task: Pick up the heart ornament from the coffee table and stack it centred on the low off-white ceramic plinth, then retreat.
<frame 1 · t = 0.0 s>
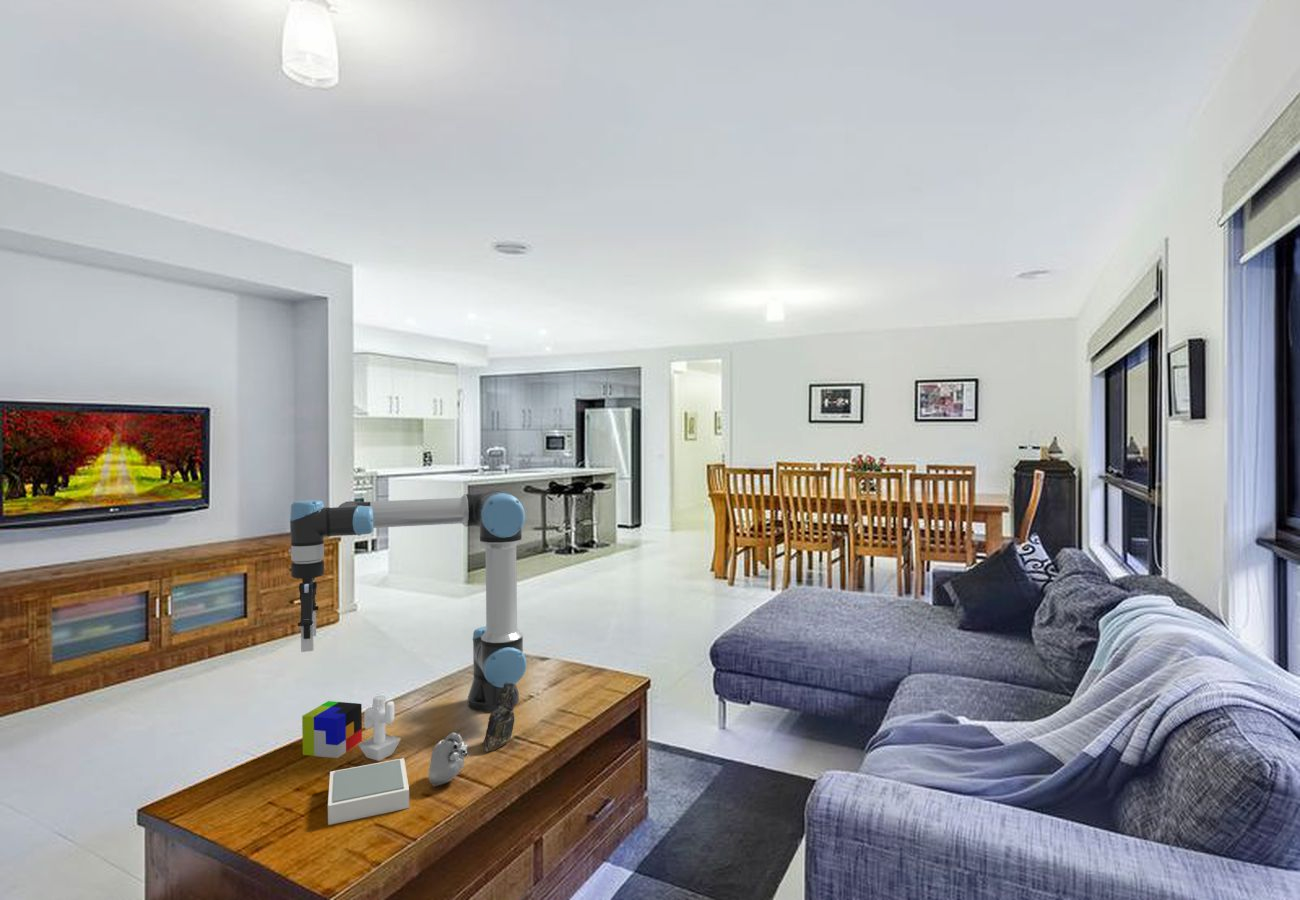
hand: (309, 643, 175), 28 cm above the table, fingers open, 13 cm apart
heart: (445, 781, 160), on the table
puzzle toy: (333, 748, 177), on the table
plinth: (368, 798, 152), on the table
figurine: (379, 756, 173), on the table
statue: (499, 744, 179), on the table
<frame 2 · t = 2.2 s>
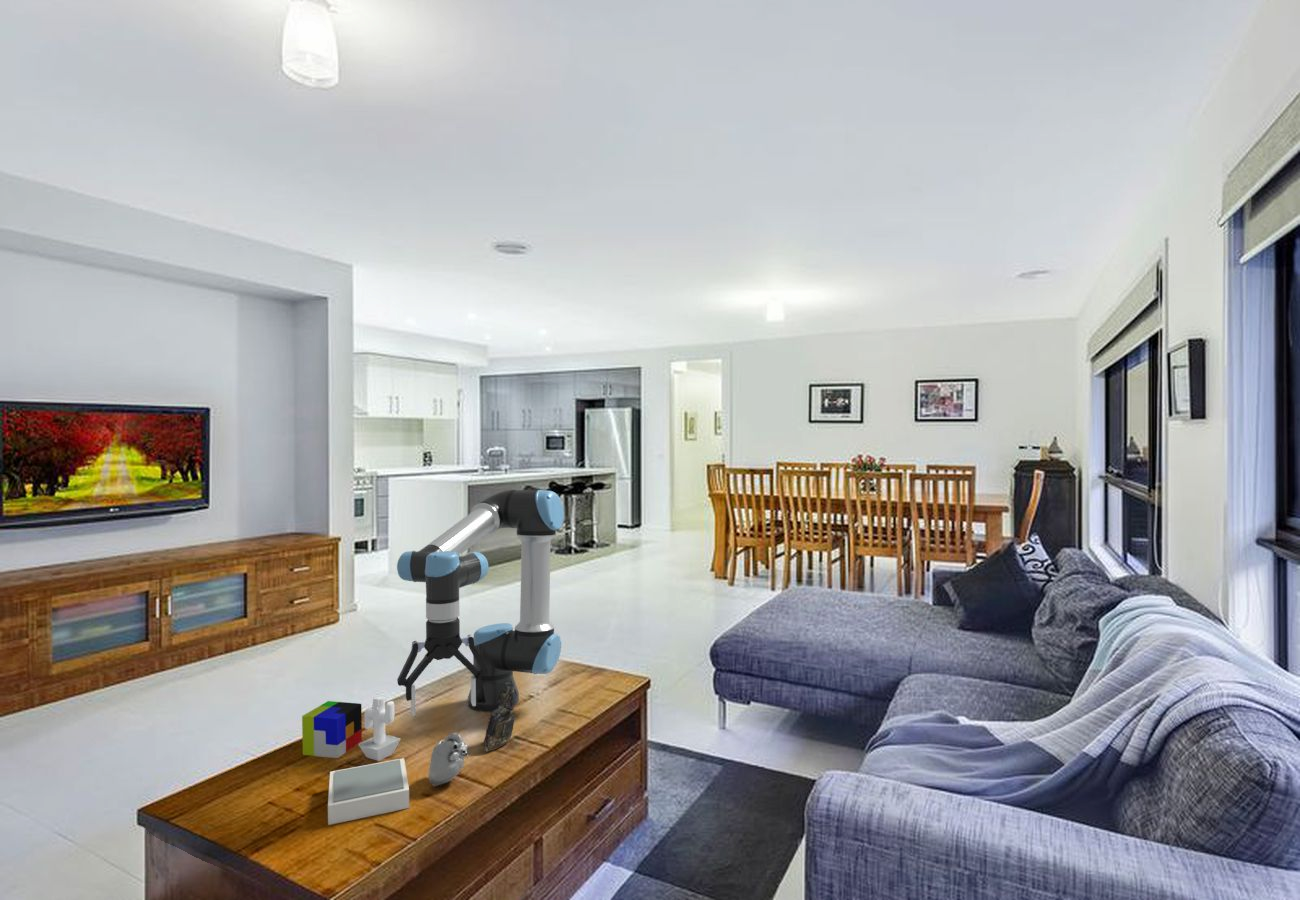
hand: (443, 708, 160), 17 cm above the table, fingers open, 13 cm apart
nothing on the table moved.
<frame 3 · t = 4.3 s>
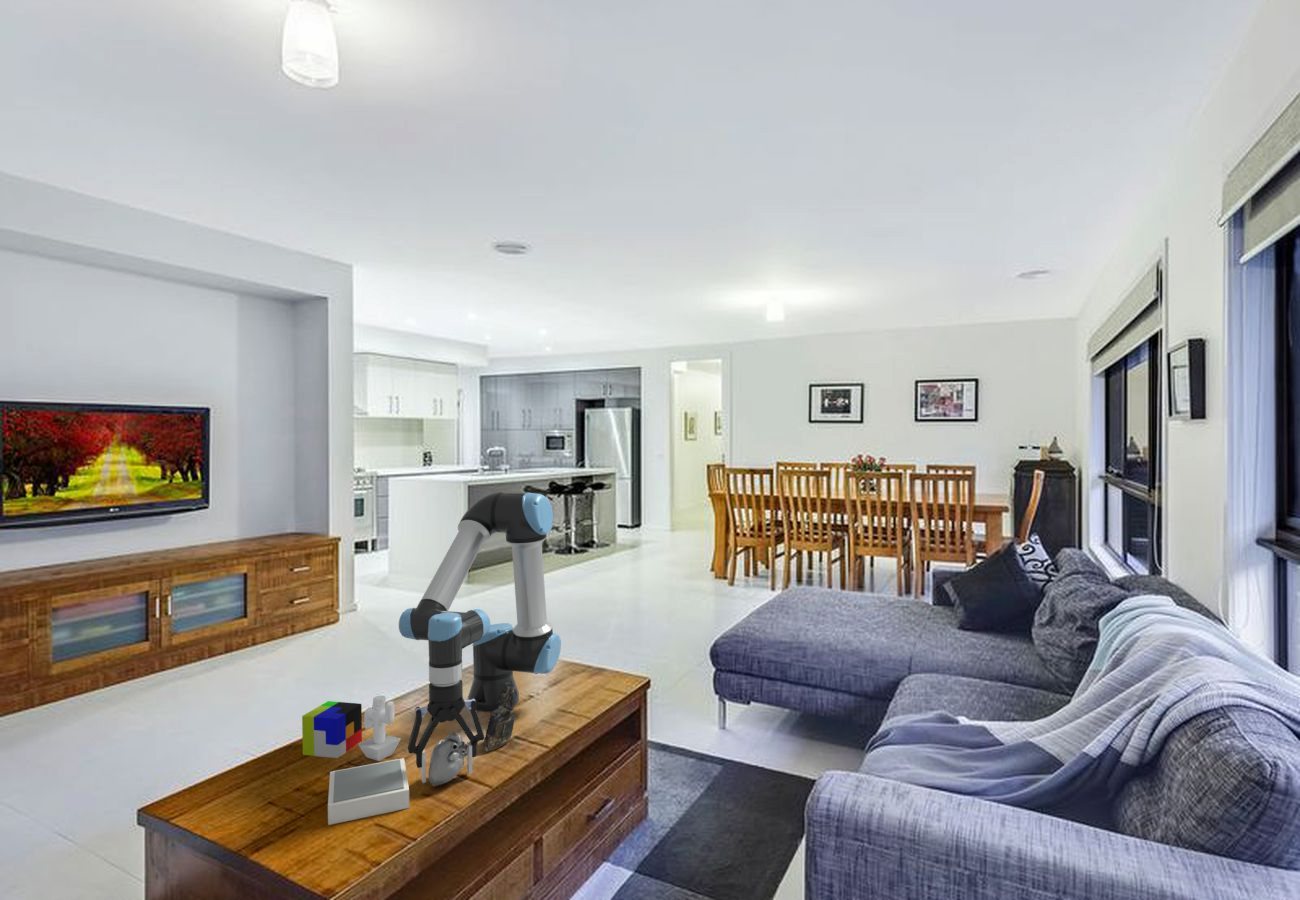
hand: (447, 775, 160), 1 cm above the table, fingers open, 10 cm apart
heart: (445, 781, 160), on the table, touching gripper
everything else where it was.
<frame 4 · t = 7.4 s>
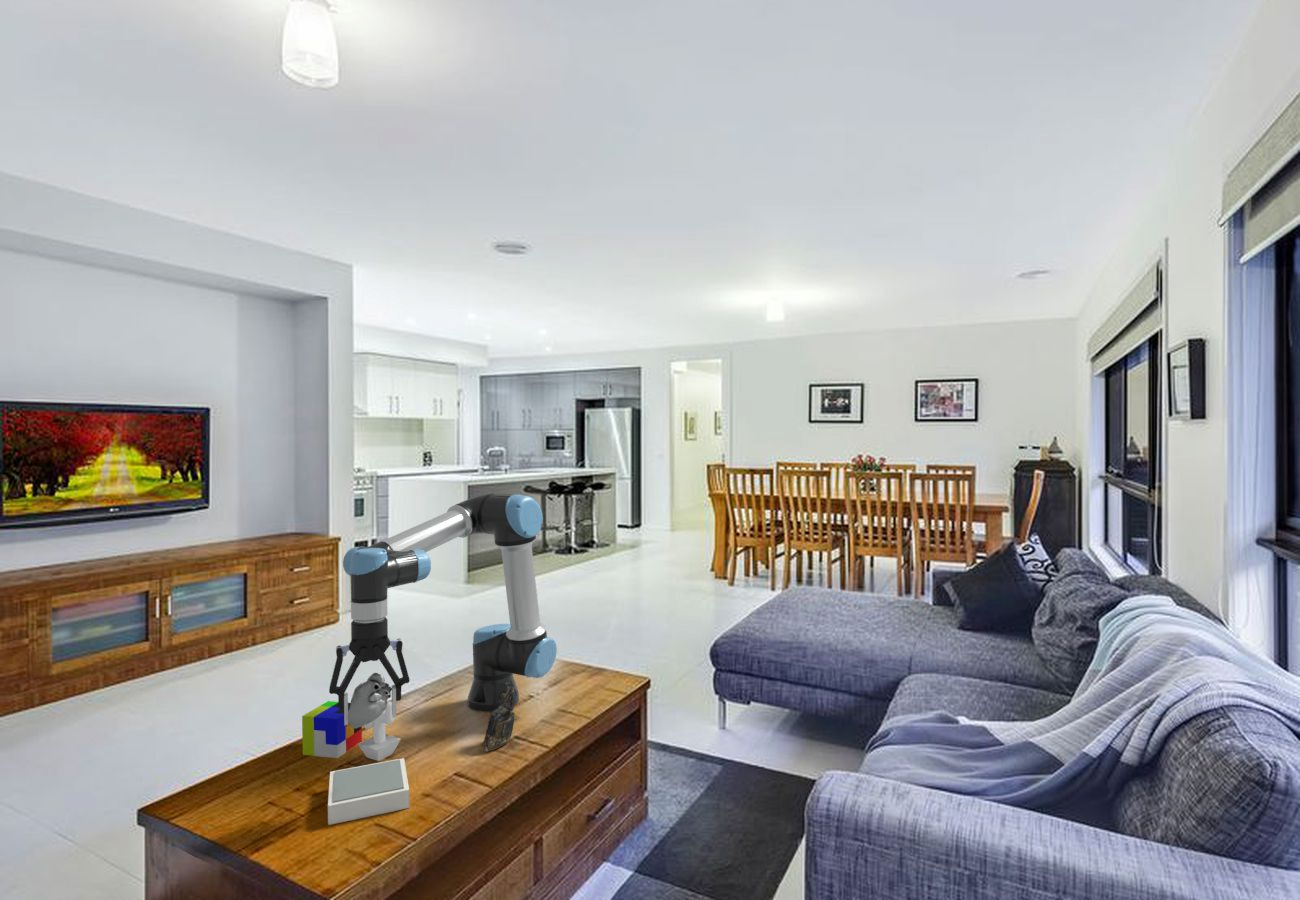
hand: (370, 718, 152), 18 cm above the table, fingers closed on heart, 9 cm apart
heart: (366, 725, 152), point 17 cm above the table, touching gripper
everything else where it was.
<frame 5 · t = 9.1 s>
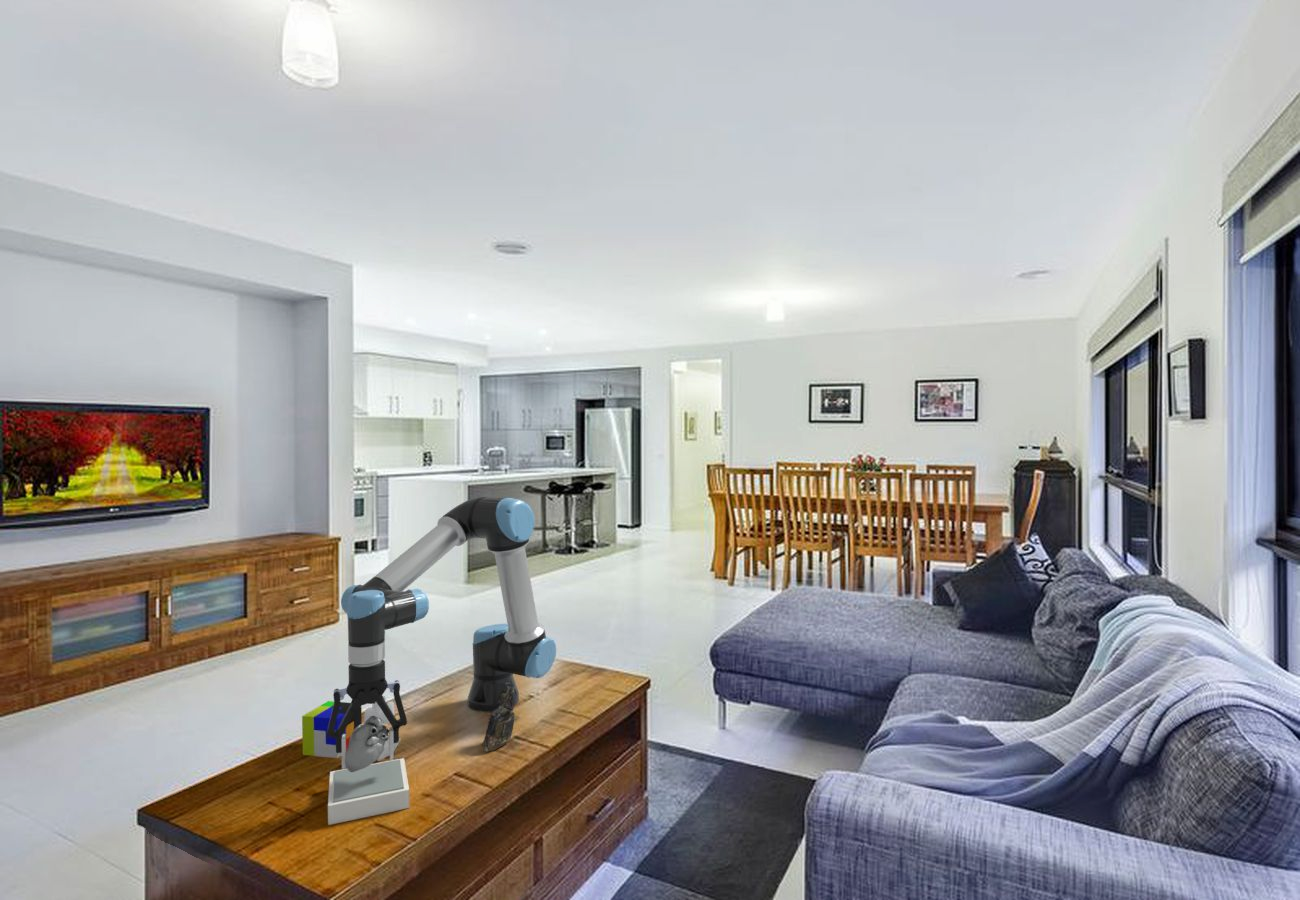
hand: (368, 761, 152), 8 cm above the table, fingers closed on heart, 9 cm apart
heart: (364, 767, 152), point 7 cm above the table, touching gripper
everything else where it was.
when the fingers open (6 cm above the table, at t = 10.4 s): heart drops 1 cm, resting on plinth.
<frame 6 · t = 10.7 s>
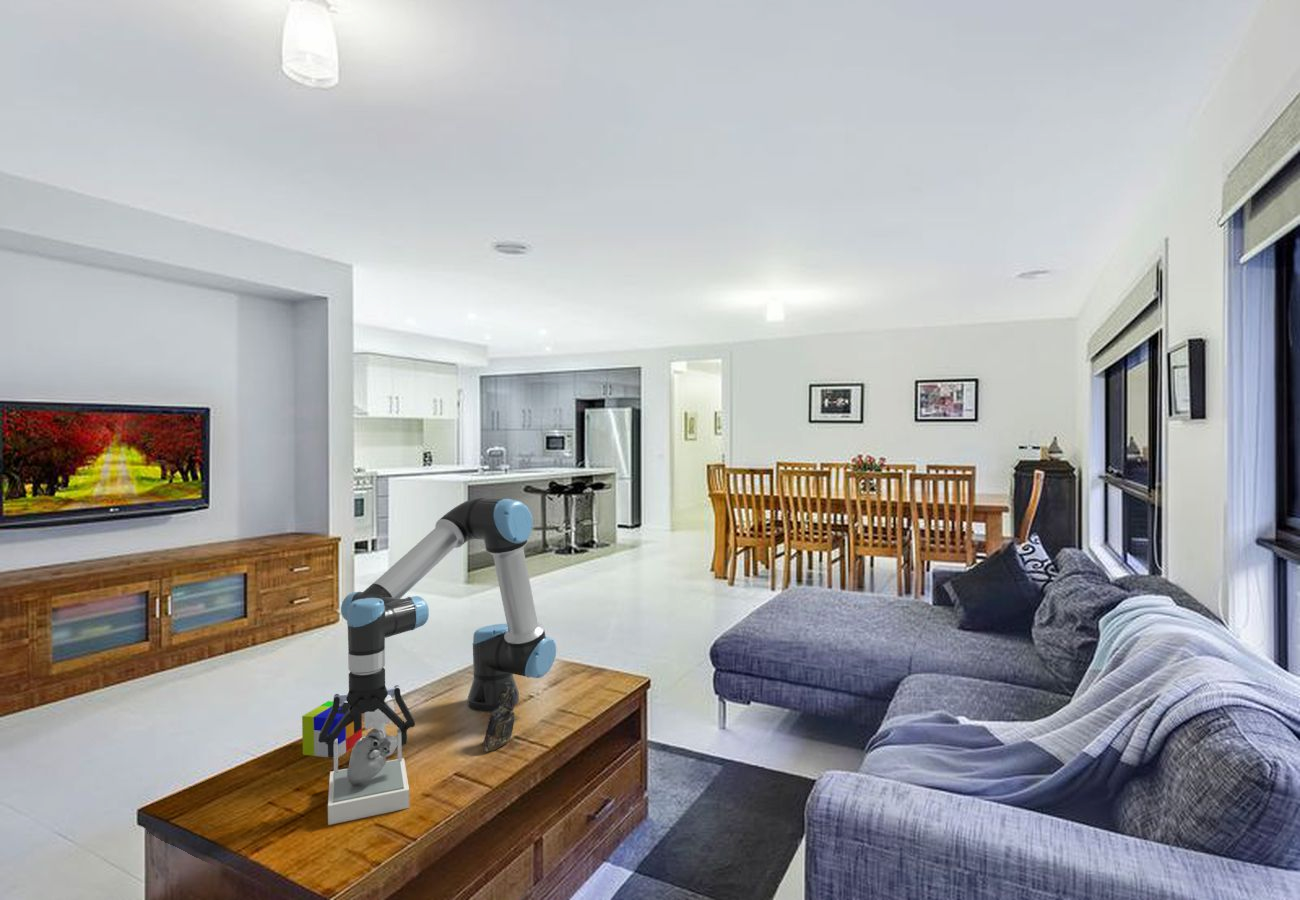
hand: (368, 764, 152), 8 cm above the table, fingers open, 12 cm apart
heart: (366, 780, 152), point 4 cm above the table, touching plinth
everything else where it was.
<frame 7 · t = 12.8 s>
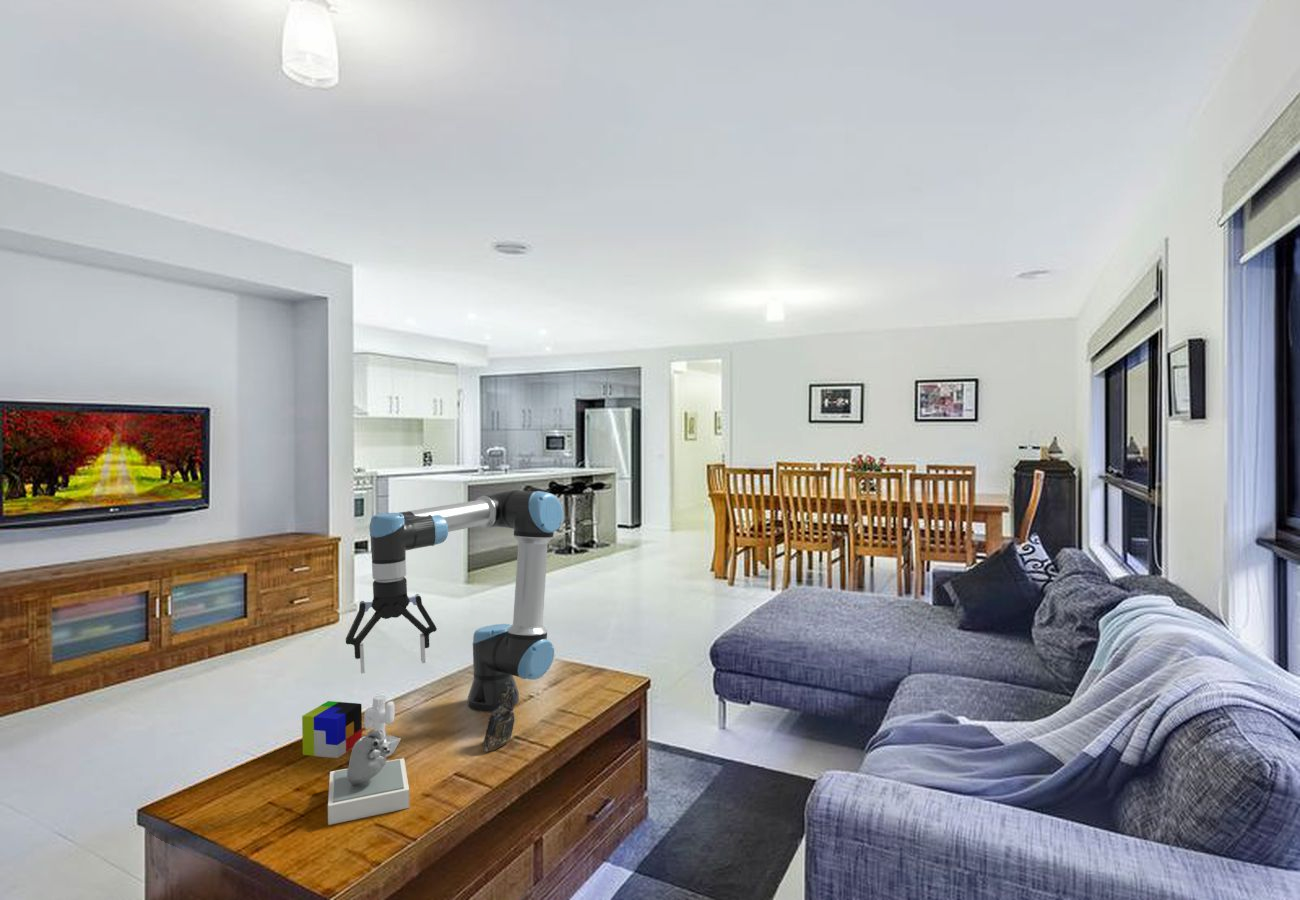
hand: (393, 666, 163), 26 cm above the table, fingers open, 13 cm apart
nothing on the table moved.
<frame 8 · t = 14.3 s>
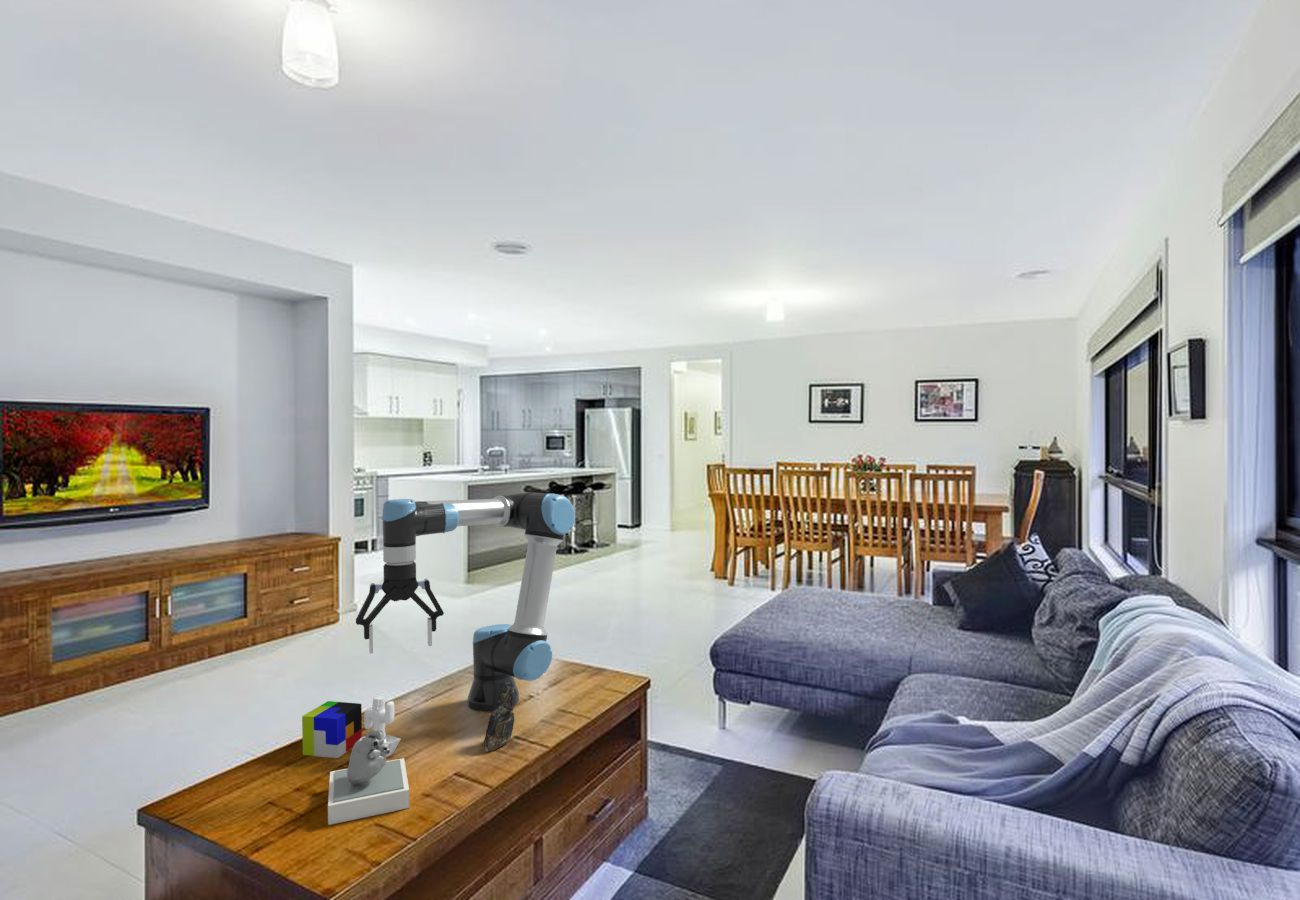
hand: (400, 648, 168), 29 cm above the table, fingers open, 13 cm apart
nothing on the table moved.
at the end: heart inside the target area on the plinth (0.5 cm from its centre), point 4.1 cm above the plinth's base; heart tilted 0°; the gripper is holding nothing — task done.
